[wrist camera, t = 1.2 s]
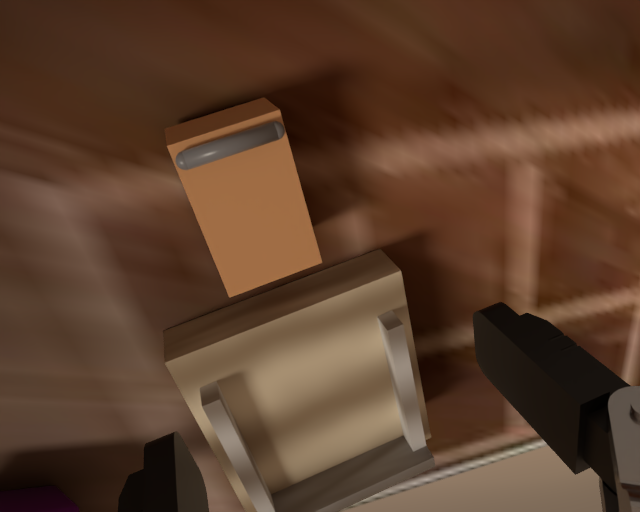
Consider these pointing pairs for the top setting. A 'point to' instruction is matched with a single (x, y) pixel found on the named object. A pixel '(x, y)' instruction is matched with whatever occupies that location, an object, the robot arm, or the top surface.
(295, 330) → the dock
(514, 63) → the top surface
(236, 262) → the orange box with handle
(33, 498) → the perfume bottle
